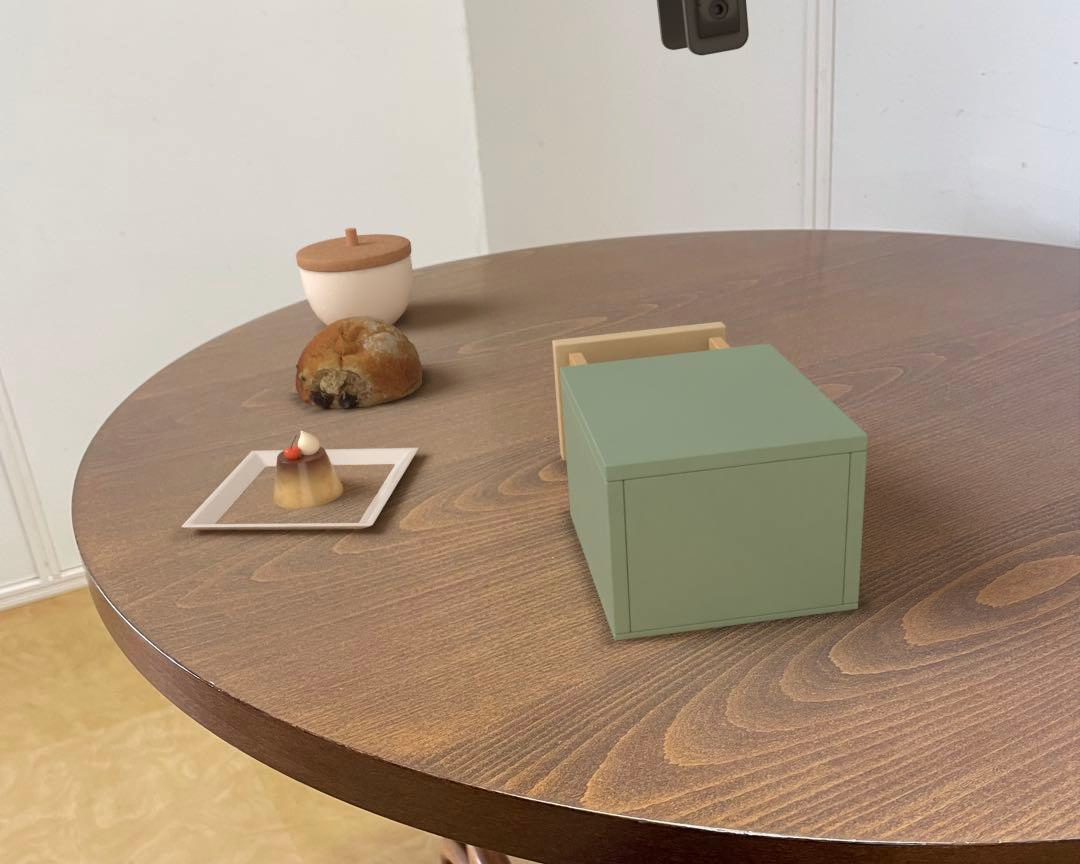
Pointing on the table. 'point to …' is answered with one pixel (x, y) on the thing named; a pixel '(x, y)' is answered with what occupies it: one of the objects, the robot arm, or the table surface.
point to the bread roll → (357, 365)
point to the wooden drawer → (631, 351)
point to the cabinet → (712, 490)
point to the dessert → (301, 483)
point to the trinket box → (357, 276)
